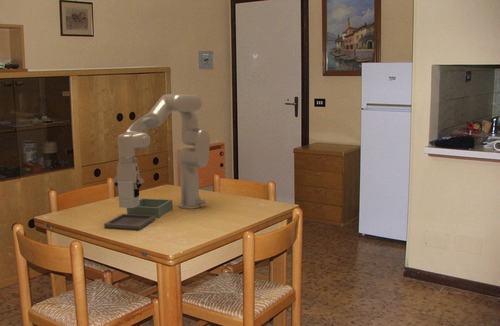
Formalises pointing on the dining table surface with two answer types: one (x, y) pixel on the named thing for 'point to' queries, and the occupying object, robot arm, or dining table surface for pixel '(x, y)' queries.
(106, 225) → the tray
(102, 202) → the dining table surface
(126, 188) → the supplement box
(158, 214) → the green open box
